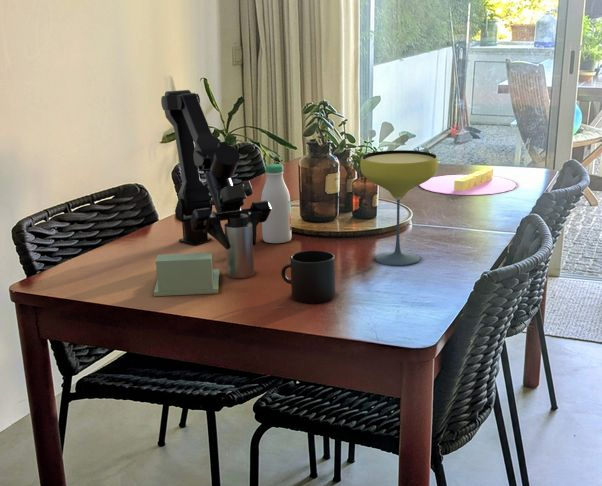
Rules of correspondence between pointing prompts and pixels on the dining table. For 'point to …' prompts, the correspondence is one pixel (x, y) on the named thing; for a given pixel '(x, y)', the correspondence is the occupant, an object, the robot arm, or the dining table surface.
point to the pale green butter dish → (186, 274)
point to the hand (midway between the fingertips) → (241, 246)
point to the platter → (469, 184)
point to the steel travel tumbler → (239, 246)
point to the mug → (311, 276)
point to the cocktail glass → (398, 185)
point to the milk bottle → (276, 206)
